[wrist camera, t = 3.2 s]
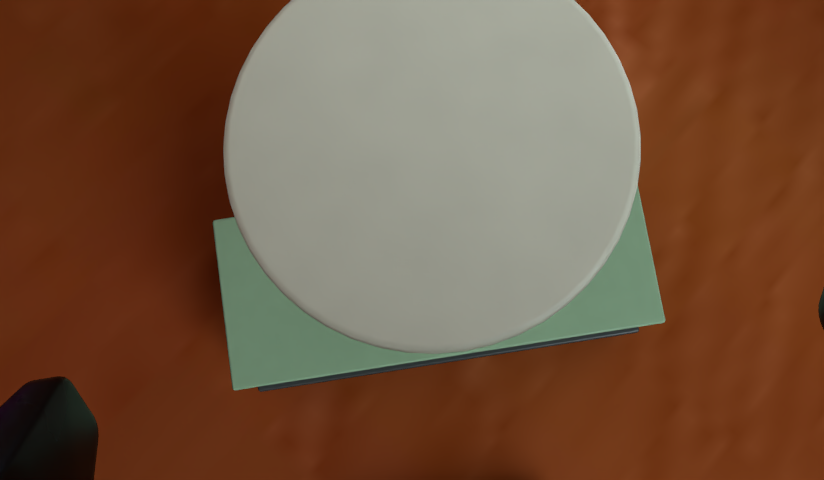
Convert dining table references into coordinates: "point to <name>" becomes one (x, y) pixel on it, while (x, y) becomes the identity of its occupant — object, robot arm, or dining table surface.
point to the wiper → (428, 189)
